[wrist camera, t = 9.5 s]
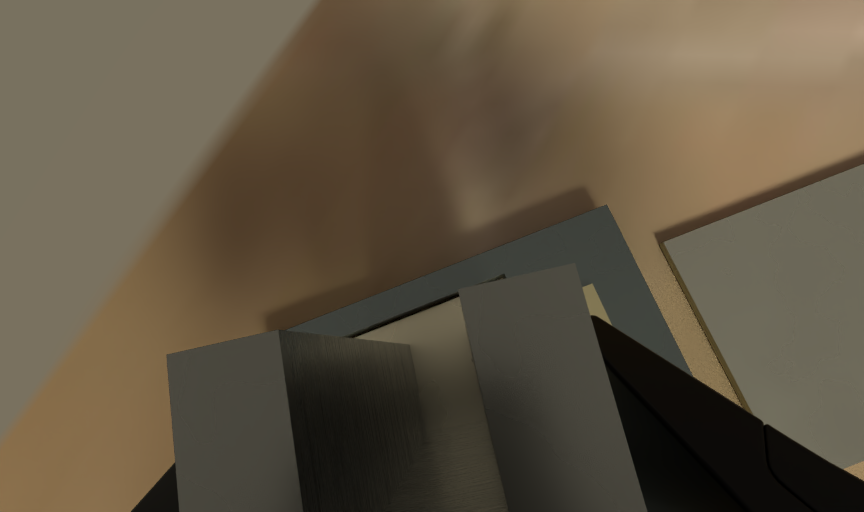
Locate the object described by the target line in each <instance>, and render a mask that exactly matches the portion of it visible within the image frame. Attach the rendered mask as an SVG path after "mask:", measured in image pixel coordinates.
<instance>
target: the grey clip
mask: <svg viewBox="0 0 864 512" xmlns="http://www.w3.org/2000/svg"><path fill="white" fill-rule="evenodd" d="M458 292H459V297H460V302H461V307H462V312H463V317H464V322H465V327H466V332H467V336H468V341H469V345H470V349H471V354H472V358H473V363H474V367H475V371H476V376H477V380H478V384H479V389H480V393H481V398H482V402H483V406H484V411H485V415H486V419H487V420H483V421H478V422H474V423H469V424H464V425H460V426H455V427H450V428H446V429H441V430H436V431H432V432H427V430H426V425H425V420H424V415H423V410H422V405H421V400H420V395H419V390H418V385H417V380H416V375H415V370H414V365H413V360H412V355H411V350H410V345H409V344H401V343H392V342H383V341H374V340H366V339H357V338H348V337H339V336H330V335H321V334H312V333H303V332H295V331H286V330H274V331H270V332H265V333H261V334H257V335H252V336H248V337H243V338H239V339H234V340H230V341H226V342H221V343H217V344H212V345H208V346H203V347H199V348H194V349H190V350H186V351H181V352H177V353H172V354H168V355H166V356H167V368H168V380H169V392H170V404H171V416H172V429H173V441H174V453H175V465H176V477H177V489H178V501H179V512H647V509H646V505H645V502H644V498H643V495H642V491H641V488H640V485H639V481H638V478H637V474H636V471H635V467H634V464H633V460H632V457H631V454H630V450H629V447H628V443H627V440H626V436H625V433H624V430H623V426H622V423H621V419H620V416H619V412H618V409H617V405H616V402H615V399H614V395H613V392H612V388H611V385H610V381H609V378H608V374H607V371H606V368H605V364H604V361H603V357H602V354H601V350H600V347H599V344H598V340H597V337H596V333H595V330H594V326H593V323H592V319H591V316H590V313H589V309H588V306H587V302H586V299H585V295H584V292H583V288H582V285H581V282H580V278H579V275H578V271H577V268H576V264H575V263H572V264H568V265H563V266H559V267H554V268H550V269H545V270H541V271H537V272H532V273H528V274H523V275H519V276H514V277H510V278H505V279H501V280H497V281H492V282H488V283H483V284H479V285H474V286H470V287H465V288H461V289H458Z"/></svg>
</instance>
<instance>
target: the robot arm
mask: <svg viewBox="0 0 864 512" xmlns="http://www.w3.org/2000/svg"><path fill="white" fill-rule="evenodd" d="M590 316H591V319H592V323H593V326H594V330H595V333H596V337H597V340H598V344H599V347H600V350H601V354H602V357H603V361H604V364H605V368H606V371H607V374H608V378H609V381H610V385H611V388H612V392H613V395H614V399H615V402H616V405H617V409H618V412H619V416H620V419H621V423H622V426H623V430H624V433H625V436H626V440H627V443H628V447H629V450H630V454H631V457H632V460H633V464H634V467H635V471H636V474H637V478H638V481H639V485H640V488H641V491H642V495H643V498H644V502H645V505H646V509H647V512H864V481H863V480H861V479H859V478H858V477H856V476H854V475H852V474H850V473H849V472H847V471H845V470H843V469H841V468H840V467H838V466H836V465H834V464H832V463H831V462H829V461H827V460H826V459H824V458H822V457H821V456H819V455H817V454H816V453H814V452H812V451H811V450H809V449H807V448H806V447H804V446H803V445H801V444H799V443H798V442H796V441H794V440H793V439H791V438H789V437H788V436H786V435H785V434H783V433H781V432H780V431H778V430H777V429H775V428H774V427H772V426H770V425H769V424H765V425H764V423H763V421H762V420H761V419H759V418H757V417H756V416H754V415H753V414H751V413H750V412H748V411H746V410H745V409H743V408H742V407H740V406H738V405H737V404H735V403H734V402H732V401H731V400H729V399H727V398H726V397H724V396H723V395H721V394H720V393H718V392H716V391H715V390H713V389H712V388H710V387H708V386H707V385H705V384H704V383H702V382H701V381H699V380H697V379H696V378H694V377H693V376H691V375H689V374H688V373H686V372H685V371H683V370H682V369H680V368H678V367H677V366H675V365H674V364H672V363H670V362H669V361H667V360H666V359H664V358H663V357H661V356H659V355H658V354H656V353H655V352H653V351H652V350H650V349H648V348H647V347H645V346H644V345H642V344H640V343H639V342H637V341H636V340H634V339H633V338H631V337H629V336H628V335H626V334H625V333H623V332H621V331H620V330H618V329H617V328H615V327H614V326H612V325H610V324H609V323H607V322H606V321H604V320H603V319H601V318H599V317H598V316H595V315H590ZM131 512H179V501H178V489H177V477H176V465H175V463H174V464H173V465H172V466H171V467H170V469H169V470H168V471H167V472H166V473H165V474H164V475H163V476H162V478H161V479H160V480H159V481H158V482H157V483H156V484H155V485H154V486H153V488H152V489H151V490H150V491H149V492H148V493H147V494H146V495H145V496H144V498H143V499H142V500H141V501H140V502H139V503H138V504H137V505H136V507H135V508H134V509H133V510H132V511H131Z"/></svg>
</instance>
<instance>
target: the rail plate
mask: <svg viewBox="0 0 864 512" xmlns="http://www.w3.org/2000/svg"><path fill="white" fill-rule="evenodd" d="M572 263H575V264H576V268H577V271H578V275H579V278H580V282H581V285H582V288H583V292H584V295H585V299H586V302H587V306H588V309H589V313H590V315H595V316H598V317H599V318H601V319H603V320H604V321H606V322H607V323H609V324H610V325H612V326H614V327H615V328H617V329H618V330H620V331H621V332H623V333H625V334H626V335H628V336H629V337H631V338H633V339H634V340H636V341H637V342H639V343H640V344H642V345H644V346H645V347H647V348H648V349H650V350H652V351H653V352H655V353H656V354H658V355H659V356H661V357H663V358H664V359H666V360H667V361H669V362H670V363H672V364H674V365H675V366H677V367H678V368H680V369H682V370H683V371H685V372H686V373H688V374H689V375H691V376H693V375H692V373H691V371H690V369H689V367H688V365H687V363H686V361H685V359H684V357H683V355H682V353H681V351H680V349H679V347H678V345H677V343H676V341H675V339H674V337H673V335H672V333H671V331H670V329H669V327H668V325H667V323H666V321H665V319H664V317H663V315H662V313H661V311H660V309H659V307H658V305H657V303H656V301H655V299H654V297H653V295H652V293H651V291H650V289H649V287H648V286H647V284H646V282H645V280H644V278H643V276H642V274H641V272H640V270H639V268H638V266H637V264H636V262H635V260H634V258H633V256H632V254H631V252H630V250H629V248H628V246H627V244H626V242H625V240H624V238H623V236H622V234H621V232H620V230H619V228H618V226H617V224H616V222H615V220H614V218H613V216H612V214H611V212H610V210H609V208H608V206H607V205H604V206H602V207H599V208H597V209H594V210H591V211H589V212H586V213H584V214H581V215H579V216H576V217H574V218H571V219H568V220H566V221H563V222H561V223H558V224H556V225H553V226H550V227H548V228H545V229H543V230H540V231H538V232H535V233H533V234H530V235H527V236H525V237H522V238H520V239H517V240H515V241H512V242H510V243H507V244H504V245H502V246H499V247H497V248H494V249H492V250H489V251H487V252H484V253H481V254H479V255H476V256H474V257H471V258H469V259H466V260H463V261H461V262H458V263H456V264H453V265H451V266H448V267H446V268H443V269H440V270H438V271H435V272H433V273H430V274H428V275H425V276H423V277H420V278H417V279H415V280H412V281H410V282H407V283H405V284H402V285H400V286H397V287H394V288H392V289H389V290H387V291H384V292H382V293H379V294H376V295H374V296H371V297H369V298H366V299H364V300H361V301H359V302H356V303H353V304H351V305H348V306H346V307H343V308H341V309H338V310H336V311H333V312H330V313H328V314H325V315H323V316H320V317H318V318H315V319H313V320H310V321H307V322H305V323H302V324H300V325H297V326H295V327H292V328H289V329H287V330H286V331H295V332H303V333H312V334H321V335H330V336H339V337H348V338H350V337H352V336H355V335H357V334H360V333H363V332H365V331H368V330H370V329H373V328H375V327H378V326H380V325H383V324H386V323H388V322H391V321H393V320H396V319H398V318H401V317H404V316H406V315H409V314H411V313H414V312H416V311H419V310H421V309H424V308H427V307H429V306H432V305H434V304H437V303H439V302H442V301H444V300H447V299H450V298H452V297H455V296H457V295H459V292H458V289H461V288H465V287H470V286H474V285H479V284H483V283H488V282H492V281H496V280H498V279H501V278H503V279H505V278H510V277H514V276H519V275H523V274H528V273H532V272H537V271H541V270H545V269H550V268H554V267H559V266H563V265H568V264H572ZM355 338H357V339H366V340H374V341H383V342H392V343H401V344H409V345H410V350H411V355H412V360H413V365H414V370H415V375H416V380H417V385H418V390H419V395H420V400H421V405H422V410H423V415H424V420H425V425H426V430H427V432H432V431H436V430H441V429H446V428H450V427H455V426H460V425H464V424H469V423H474V422H478V421H483V420H487V419H486V415H485V411H484V406H483V402H482V398H481V393H480V389H479V384H478V380H477V376H476V371H475V367H474V363H473V358H472V354H471V349H470V345H469V341H468V336H467V332H466V327H465V322H464V317H463V312H462V307H461V302H460V297H457V298H455V299H452V300H450V301H447V302H445V303H442V304H440V305H437V306H434V307H432V308H429V309H427V310H424V311H422V312H419V313H417V314H414V315H411V316H409V317H406V318H404V319H401V320H399V321H396V322H393V323H391V324H388V325H386V326H383V327H381V328H378V329H376V330H373V331H370V332H368V333H365V334H363V335H360V336H358V337H355Z"/></svg>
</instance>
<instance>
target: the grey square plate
mask: <svg viewBox="0 0 864 512" xmlns="http://www.w3.org/2000/svg"><path fill="white" fill-rule="evenodd" d="M659 246H660V248H661V250H662V251H663V253H664V255H665V257H666V259H667V261H668V263H669V265H670V267H671V269H672V271H673V273H674V275H675V277H676V278H677V280H678V282H679V284H680V286H681V288H682V290H683V292H684V294H685V296H686V298H687V300H688V302H689V304H690V305H691V307H692V309H693V311H694V313H695V315H696V317H697V319H698V321H699V323H700V325H701V327H702V329H703V331H704V332H705V334H706V336H707V338H708V340H709V342H710V344H711V346H712V348H713V350H714V352H715V354H716V356H717V358H718V359H719V361H720V363H721V365H722V367H723V369H724V371H725V373H726V375H727V377H728V379H729V381H730V383H731V385H732V386H733V388H734V390H735V392H736V394H737V396H738V398H739V400H740V402H741V404H742V406H743V408H744V409H745V410H746V411H748V412H750V413H751V414H753V415H754V416H756V417H757V418H759V419H761V420H762V421H763V423H764V425H765V424H769V425H770V426H772V427H774V428H775V429H777V430H778V431H780V432H781V433H783V434H785V435H786V436H788V437H789V438H791V439H793V440H794V441H796V442H798V443H799V444H801V445H803V446H804V447H806V448H807V449H809V450H811V451H812V452H814V453H816V454H817V455H819V456H821V457H822V458H824V459H826V460H827V461H829V462H831V463H832V464H834V465H836V466H838V467H840V468H841V469H844V468H846V467H849V466H852V465H854V464H857V463H859V462H862V461H864V164H862V165H860V166H857V167H854V168H852V169H849V170H847V171H844V172H842V173H839V174H837V175H834V176H831V177H829V178H826V179H824V180H821V181H819V182H816V183H814V184H811V185H808V186H806V187H803V188H801V189H798V190H796V191H793V192H790V193H788V194H785V195H783V196H780V197H778V198H775V199H773V200H770V201H767V202H765V203H762V204H760V205H757V206H755V207H752V208H750V209H747V210H744V211H742V212H739V213H737V214H734V215H732V216H729V217H726V218H724V219H721V220H719V221H716V222H714V223H711V224H709V225H706V226H703V227H701V228H698V229H696V230H693V231H691V232H688V233H686V234H683V235H680V236H678V237H675V238H673V239H670V240H668V241H665V242H663V243H661V244H659Z"/></svg>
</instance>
